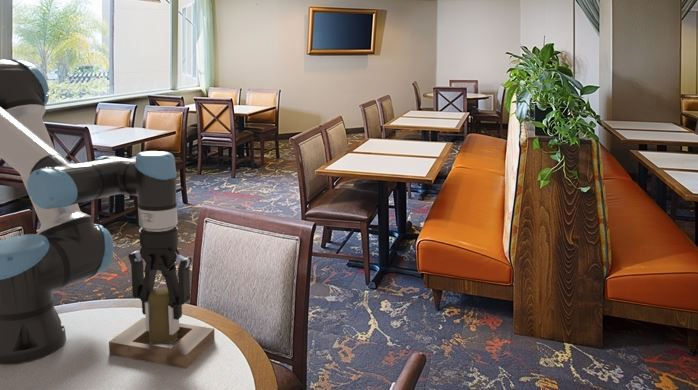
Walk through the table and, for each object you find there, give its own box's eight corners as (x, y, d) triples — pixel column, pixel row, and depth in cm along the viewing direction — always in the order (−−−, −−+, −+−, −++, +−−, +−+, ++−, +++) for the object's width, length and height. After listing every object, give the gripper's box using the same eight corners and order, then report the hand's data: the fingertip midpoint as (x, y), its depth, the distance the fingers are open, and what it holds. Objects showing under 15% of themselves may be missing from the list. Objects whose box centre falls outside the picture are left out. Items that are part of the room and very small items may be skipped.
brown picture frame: (109, 354, 111) (108, 341, 111) (143, 329, 123) (143, 317, 122) (186, 368, 107) (186, 355, 107) (214, 340, 119) (214, 328, 118)
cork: (168, 345, 111) (166, 297, 109) (142, 341, 112) (140, 293, 110) (182, 332, 117) (181, 286, 114) (158, 329, 118) (156, 283, 116)
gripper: (108, 227, 107) (115, 331, 112) (188, 236, 103) (191, 344, 109) (131, 217, 114) (136, 316, 120) (206, 226, 111) (209, 328, 116)
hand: (162, 329), depth 114 cm, fingers closed on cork, 5 cm apart
